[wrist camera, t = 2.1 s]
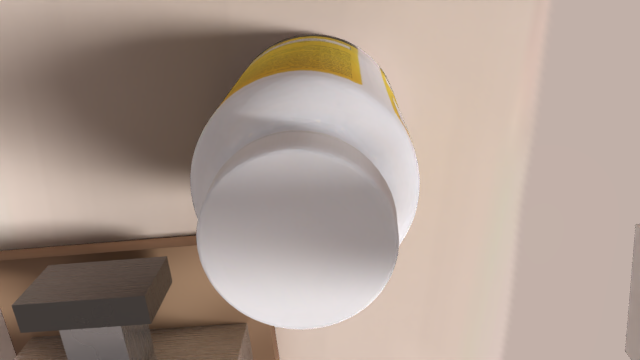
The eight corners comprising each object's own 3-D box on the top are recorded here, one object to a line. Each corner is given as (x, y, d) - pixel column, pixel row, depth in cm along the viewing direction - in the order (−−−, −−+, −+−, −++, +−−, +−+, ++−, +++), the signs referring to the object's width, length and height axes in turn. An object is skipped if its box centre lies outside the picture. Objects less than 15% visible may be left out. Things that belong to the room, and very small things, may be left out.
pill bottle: (205, 82, 24) (95, 191, 14) (347, -1, 23) (351, 47, 12) (288, 212, 26) (249, 399, 15) (423, 143, 25) (485, 295, 14)
